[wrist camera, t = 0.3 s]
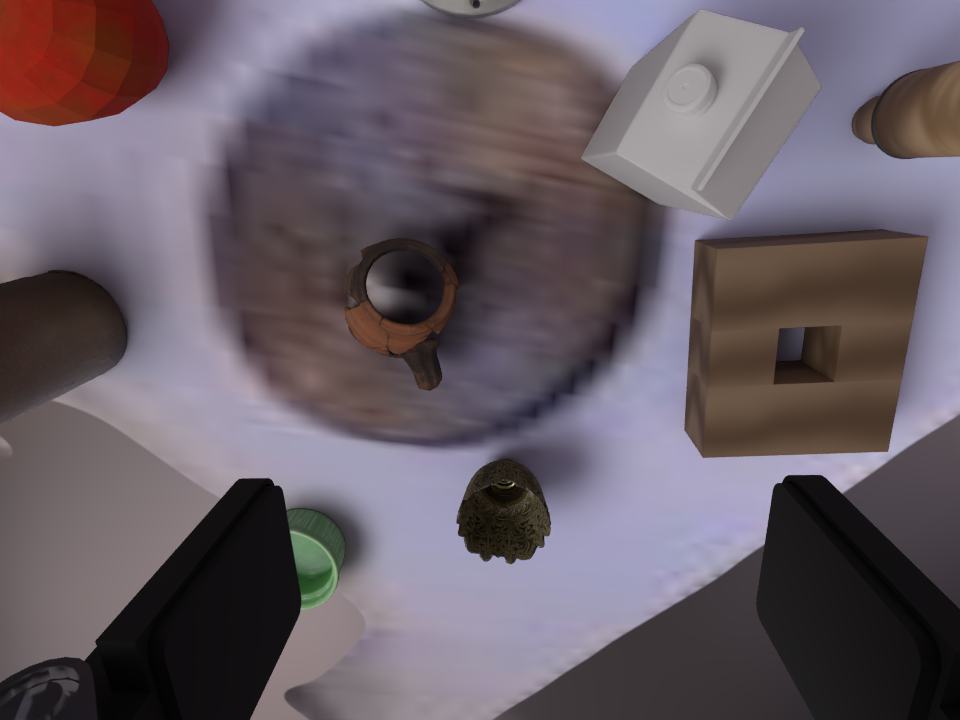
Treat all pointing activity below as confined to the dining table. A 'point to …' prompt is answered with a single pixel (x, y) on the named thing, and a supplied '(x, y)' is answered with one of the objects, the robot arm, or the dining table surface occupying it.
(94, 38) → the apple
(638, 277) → the dining table surface
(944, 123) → the oak peg
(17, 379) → the pillar candle
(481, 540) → the dark rounded textured piece
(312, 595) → the ramekin
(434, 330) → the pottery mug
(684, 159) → the milk carton
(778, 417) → the walnut block
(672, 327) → the dining table surface
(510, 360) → the dining table surface
